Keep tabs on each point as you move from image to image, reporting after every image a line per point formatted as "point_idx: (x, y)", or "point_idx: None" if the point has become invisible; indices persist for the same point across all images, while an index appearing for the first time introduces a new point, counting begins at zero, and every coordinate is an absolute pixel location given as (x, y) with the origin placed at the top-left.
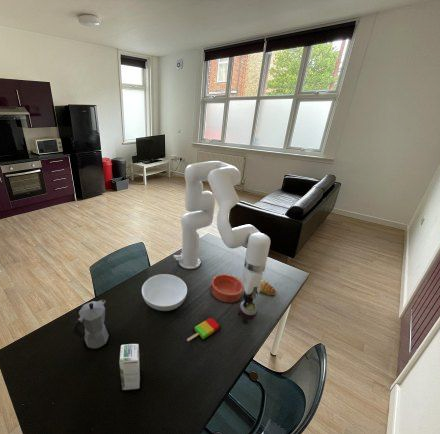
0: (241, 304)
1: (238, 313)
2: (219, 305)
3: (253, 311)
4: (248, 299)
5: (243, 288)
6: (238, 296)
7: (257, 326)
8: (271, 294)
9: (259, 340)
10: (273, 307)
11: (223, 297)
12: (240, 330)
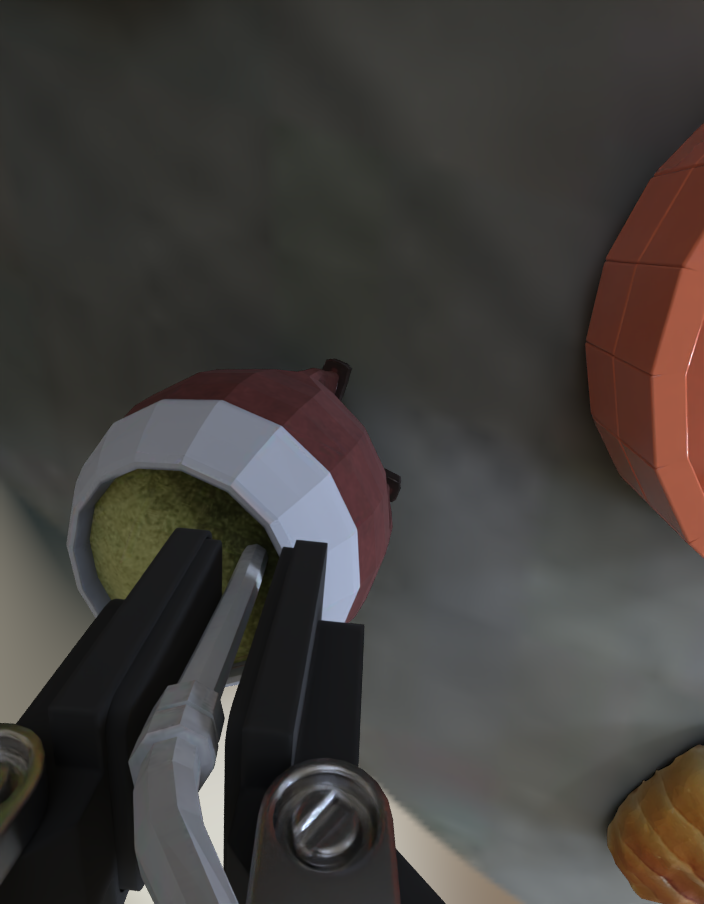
0: (236, 441)
1: (338, 368)
2: (565, 118)
3: (85, 597)
4: (69, 675)
5: (168, 877)
6: (635, 471)
7: None
8: (614, 832)
9: (4, 482)
10: (443, 768)
11: (677, 193)
12: (108, 314)
